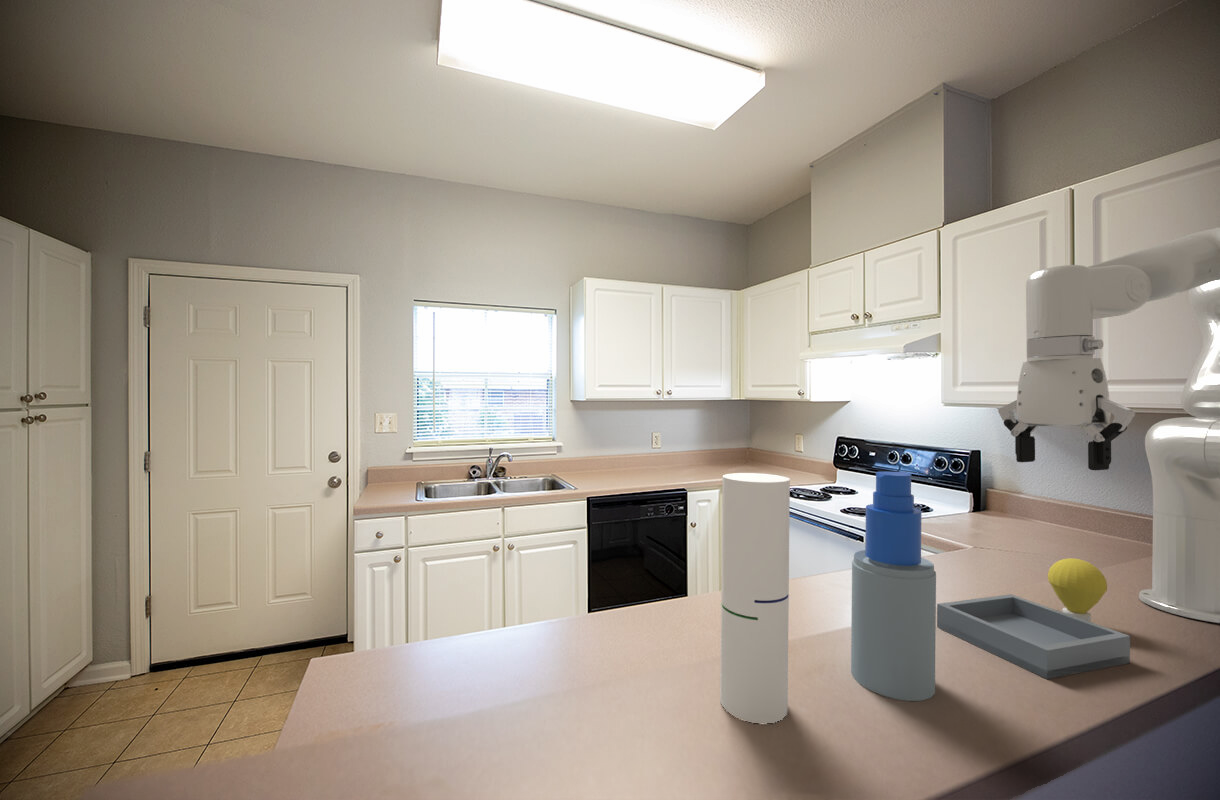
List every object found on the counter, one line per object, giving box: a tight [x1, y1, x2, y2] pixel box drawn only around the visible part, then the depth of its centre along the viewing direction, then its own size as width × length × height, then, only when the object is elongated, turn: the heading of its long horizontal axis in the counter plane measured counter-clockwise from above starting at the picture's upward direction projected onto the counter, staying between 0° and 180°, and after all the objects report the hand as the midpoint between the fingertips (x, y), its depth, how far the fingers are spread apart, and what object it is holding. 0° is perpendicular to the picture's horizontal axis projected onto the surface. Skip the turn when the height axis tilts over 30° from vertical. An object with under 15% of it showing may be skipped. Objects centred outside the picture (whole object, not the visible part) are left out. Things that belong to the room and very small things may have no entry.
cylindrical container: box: [719, 472, 791, 725], centre depth 57 cm, size 7×7×25 cm
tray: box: [936, 594, 1131, 680], centre depth 72 cm, size 15×15×4 cm
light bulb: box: [1047, 557, 1108, 622], centre depth 78 cm, size 7×7×10 cm
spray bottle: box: [850, 471, 937, 702], centre depth 62 cm, size 9×9×25 cm
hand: (1060, 465), depth 77 cm, fingers open, 9 cm apart
